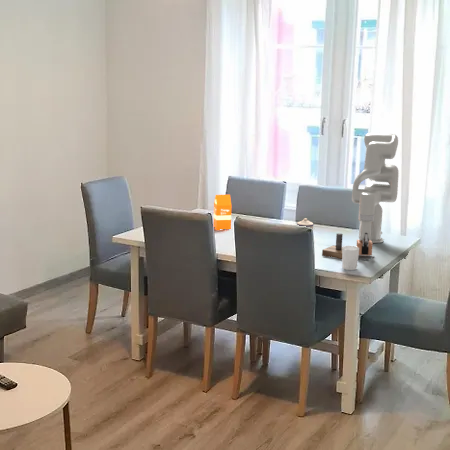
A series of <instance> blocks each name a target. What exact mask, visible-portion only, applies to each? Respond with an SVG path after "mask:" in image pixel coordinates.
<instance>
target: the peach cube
mask: <svg viewBox="0 0 450 450" xmlns="http://www.w3.org/2000/svg"><path fill="white" fill-rule="evenodd" d="M364 240H365V239H364ZM373 244H374V243H372V241H371V240H370V241H368V247H369V248H368V255H370V256H373ZM362 246H363V240H361V241H360V240H359V239H356V247H358V248H359V255H365V254H361V252H362Z"/></svg>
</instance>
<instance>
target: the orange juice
mask: <svg viewBox="0 0 450 450" xmlns="http://www.w3.org/2000/svg"><path fill="white" fill-rule="evenodd" d="M232 208H233V207H232V199H231V194H215V197H214V202H213V228H214V227H215V228H214V229H215V231H221V230H220V229H231V230H232Z"/></svg>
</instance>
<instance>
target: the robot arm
mask: <svg viewBox="0 0 450 450" xmlns="http://www.w3.org/2000/svg"><path fill="white" fill-rule="evenodd" d="M363 140H364V141H363V142H364V145H365V147H366V148H365V149H366V150H365V156H364V157H365V159H364V166H363V170H362V171H361V172H360V173H359V174H358V175H356V177H355V179H354V181H353V185H352V191H351V201H352V203H353V204H357V205H359V207H358V221H359V228H358V240H360V241H361V240H363V246H362V252H361V254H365V255H368V248H369V247H368V241H370V240H371V241H372V243H373V244H380V243H383V242H384V238H383V237H382V235H383V232H382V221H383V208H382V207H383V206H381V204H380V203H394V202H396V201H397V198H398V191H399V189H398V188H399V174H400V173H399V168H398V166H397V165H395V164H387V163H386V159H387V160H393V159H394V158H395V157H396V153H397V150H398V145H399V137H398V135H396V134H395V133H394V134H393V133H380V132H379V133H378V132H375V133H374V132H370V133H366V134H365V135H364V137H363ZM367 179H368V180H369V181H370V182H377V183H369V184H367V185H366V186H364V189H362V188H359V186H360V184H362V182H363V181H365V180H367ZM385 183H388V184H385ZM364 239H365V240H364Z"/></svg>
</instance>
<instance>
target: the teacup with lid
mask: <svg viewBox="0 0 450 450" xmlns="http://www.w3.org/2000/svg"><path fill="white" fill-rule="evenodd" d="M297 225H299V226H306V227H310V228H312V229H313V230H314V223H313V222H312V221H310V220H308V218H306V217H305V218H303V220H301V221H297V223H296V226H297Z"/></svg>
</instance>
